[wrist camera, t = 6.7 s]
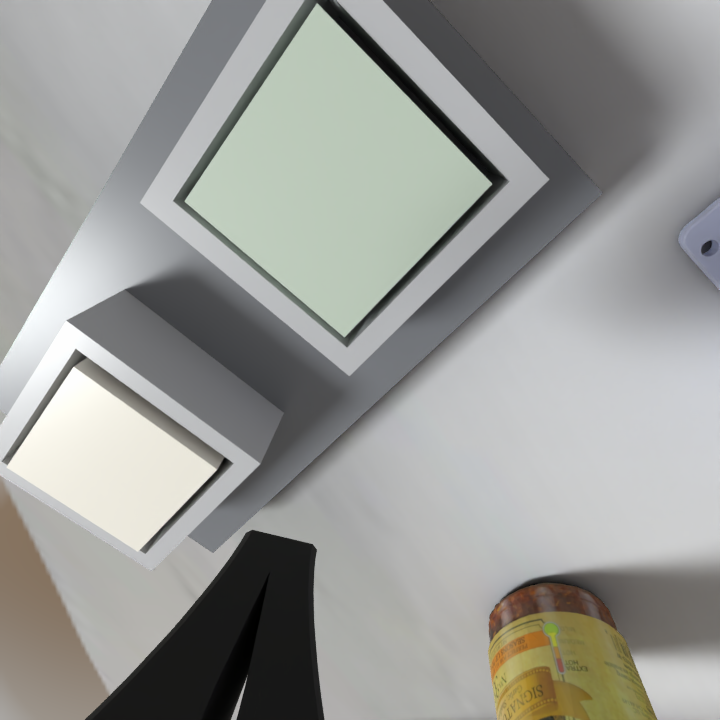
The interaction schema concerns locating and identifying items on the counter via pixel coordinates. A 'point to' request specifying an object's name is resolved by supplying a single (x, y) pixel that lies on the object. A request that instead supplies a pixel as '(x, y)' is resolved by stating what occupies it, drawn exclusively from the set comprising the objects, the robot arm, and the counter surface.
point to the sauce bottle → (561, 659)
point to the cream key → (113, 456)
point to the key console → (254, 284)
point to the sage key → (335, 177)
